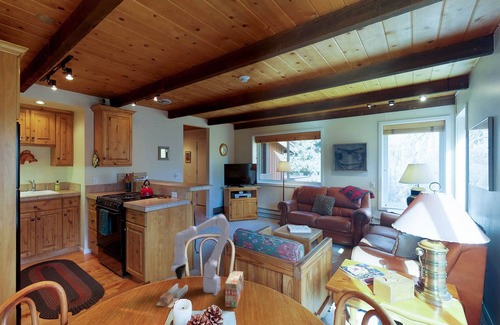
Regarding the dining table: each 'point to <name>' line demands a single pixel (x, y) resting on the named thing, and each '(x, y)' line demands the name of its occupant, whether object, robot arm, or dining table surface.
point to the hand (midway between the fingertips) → (179, 278)
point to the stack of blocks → (233, 289)
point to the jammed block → (166, 299)
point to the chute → (176, 293)
